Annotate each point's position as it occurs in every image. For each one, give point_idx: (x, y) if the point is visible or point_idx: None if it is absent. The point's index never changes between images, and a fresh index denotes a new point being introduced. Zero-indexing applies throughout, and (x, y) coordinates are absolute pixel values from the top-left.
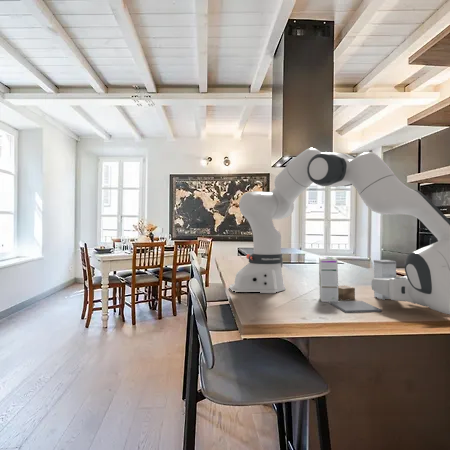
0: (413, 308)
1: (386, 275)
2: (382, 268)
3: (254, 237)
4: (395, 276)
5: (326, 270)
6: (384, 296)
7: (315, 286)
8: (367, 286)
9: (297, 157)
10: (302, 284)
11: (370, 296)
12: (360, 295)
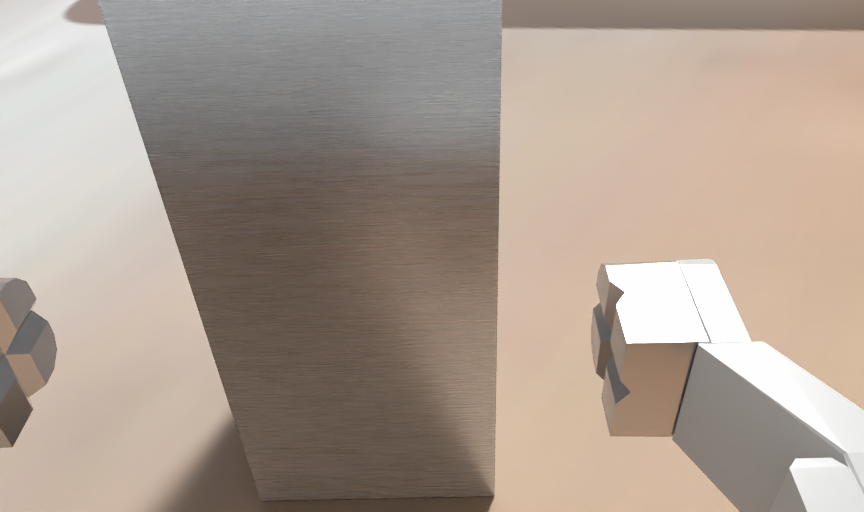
0: None
1: (253, 166)
2: (103, 2)
3: None
4: (485, 180)
5: None
6: (284, 468)
7: (91, 36)
8: (531, 40)
9: None
10: (55, 2)
11: None
12: (184, 274)
